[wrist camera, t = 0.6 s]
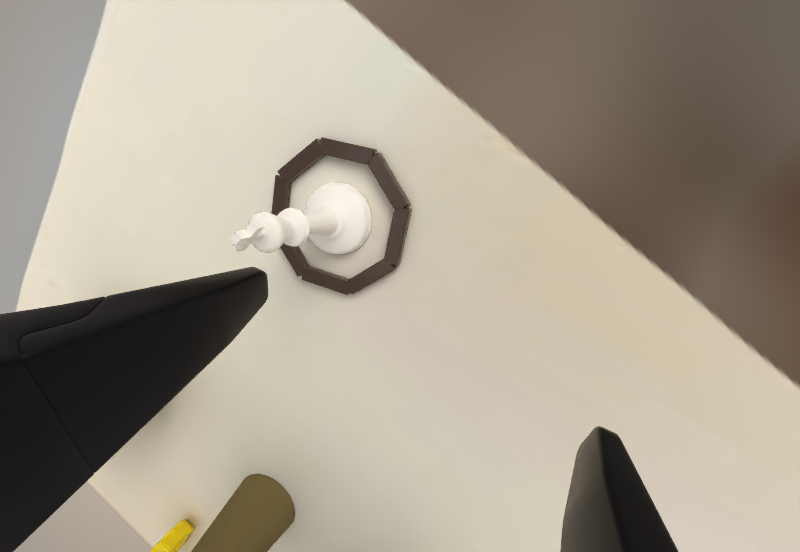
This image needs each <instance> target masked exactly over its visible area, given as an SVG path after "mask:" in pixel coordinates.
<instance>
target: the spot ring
mask: <svg viewBox="0 0 800 552" xmlns="http://www.w3.org/2000/svg"><path fill="white" fill-rule="evenodd" d="M376 152H377V150H376V149H371V148H367V147H362V146H358V145H353V144H349V143H344V142H340V141H335V140H331V139H326V138H321V140H320V139H316V140H314V141H313V142H312V143H311V144H310V145H308V146H307V147H306V148H305V149H304V150H302V151H301V152H300V153H299V154H298V155H296V156H295V157H294V158H293V159H292V160H290V161H289V162H288V163H287V164H286V165H284V166H283V167H282V168H281V169H280V170H278V173H279V174H280V175H276V177H275V186H274V196H273V205H272V214H274V215H276V216H277V215H278V214H279V213H280V212H281V211H283V210H284V209H287V208H289V200H290V191H291V183H292V181H293V180H295V179H296V178H297V177H298V176H300V175H301V174H302V173H303V172H305V171H306V170H307V169H308V168H310V167H311V166H312V165H313V164H315V163H316V162H317V161H318V160H320V159H321V158H322V157H323V156H325V155H329V156H333V157H338V158H342V159H346V160H350V161H355V162H359V163H363V164H368V166H369V167H370V169H371V171H372V172H373V174H374V176H375V177H376V179H377V181H378V183H379V184H380V186H381V188H382V189H383V191H384V193H385V194H386V196H387V198H388V199H389V201H390V203H391V205H392V206H393V208H394V214H393V219H392V224H391V229H390V233H389V238H388V243H387V248H386V253H385V258H384V259H383V260H381V261H379V262H378V263H376V264H374V265H373V266H371V267H369V268H368V269H366V270H364V271H363V272H361V273H360V274H358V275H356V276H355V277H353V278H351V279H347V278H344V277H341V276H338V275H335V274H332V273H329V272H325V271H322V270H319V269H316V268H313V267H310V266H309V264H308V263H307V261H306V259H305V258H304V256H303V254H302V253H301V251H300V249H299V248H298V246H289V245H286V244H284V243H283V244H282V246H281V247H280V248H281V249H282V251H283V253H284V254H285V256H286V258H287V259H288V261H289V263H290V264H291V266H292V268H293V269H294V271H295V273H296V274H297V276H298V277H299V276H302V280H304V281H307V282H310V283H313V284H316V285H319V286H322V287H325V288H328V289H331V290H334V291H337V292H340V293H343V294H346V295H348V294H350V293H351V294H354V293H356V292H357V291H359V290H361V289H363V288H364V287H366V286H368V285H369V284H371V283H373V282H375V281H376V280H378V279H380V278H381V277H383V276H385V275H387V274H388V273H390V272H392V271H393V270H395V269H396V268H397V267H396V266H398V265H399V264H400V261H401V256H402V252H403V247H404V243H405V238H406V234H407V229H408V225H409V220H410V215H411V211H412V209H409V208H406V207H408V206H409V205H410V204H411V203H410V202H409V200H408V198H407V197H406V195H405V193H404V191H403V190H402V188H401V186H400V185H399V183H398V181H397V179H396V178H395V176H394V174H393V173H392V171H391V169H390V168H389V166H388V164H387V162H386V161H385V159H384V157H383V156H382V154H381V153H376ZM395 265H396V266H395Z"/></svg>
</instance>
